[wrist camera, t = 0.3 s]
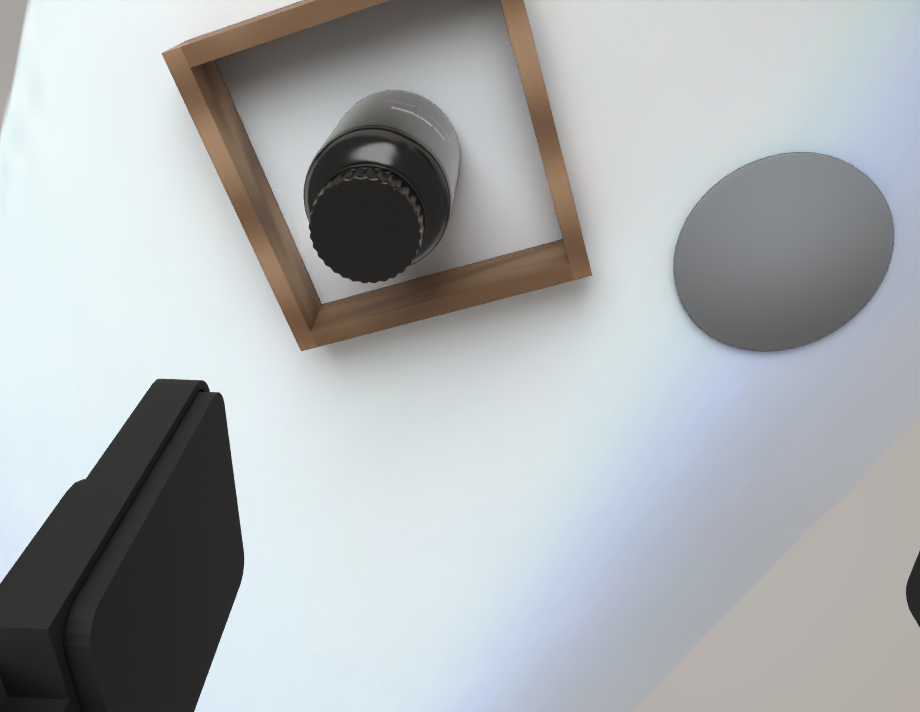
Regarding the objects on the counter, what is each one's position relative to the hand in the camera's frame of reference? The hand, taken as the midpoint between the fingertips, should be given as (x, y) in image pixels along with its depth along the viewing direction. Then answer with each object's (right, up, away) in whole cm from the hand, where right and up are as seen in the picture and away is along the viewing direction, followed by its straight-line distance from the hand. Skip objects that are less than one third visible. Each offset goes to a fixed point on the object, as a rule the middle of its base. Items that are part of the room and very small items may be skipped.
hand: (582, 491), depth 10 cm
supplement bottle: (-5, +13, +34) cm, 37 cm away
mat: (+17, +7, +36) cm, 40 cm away
